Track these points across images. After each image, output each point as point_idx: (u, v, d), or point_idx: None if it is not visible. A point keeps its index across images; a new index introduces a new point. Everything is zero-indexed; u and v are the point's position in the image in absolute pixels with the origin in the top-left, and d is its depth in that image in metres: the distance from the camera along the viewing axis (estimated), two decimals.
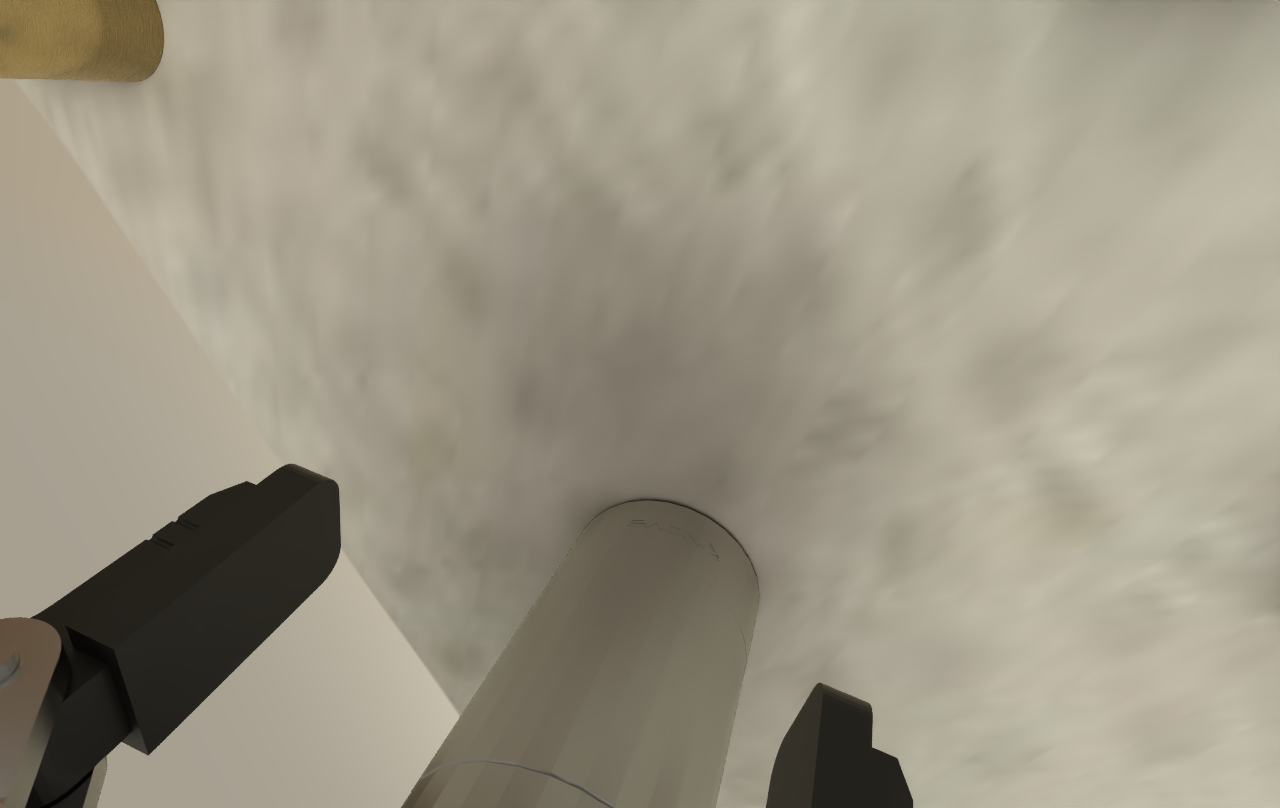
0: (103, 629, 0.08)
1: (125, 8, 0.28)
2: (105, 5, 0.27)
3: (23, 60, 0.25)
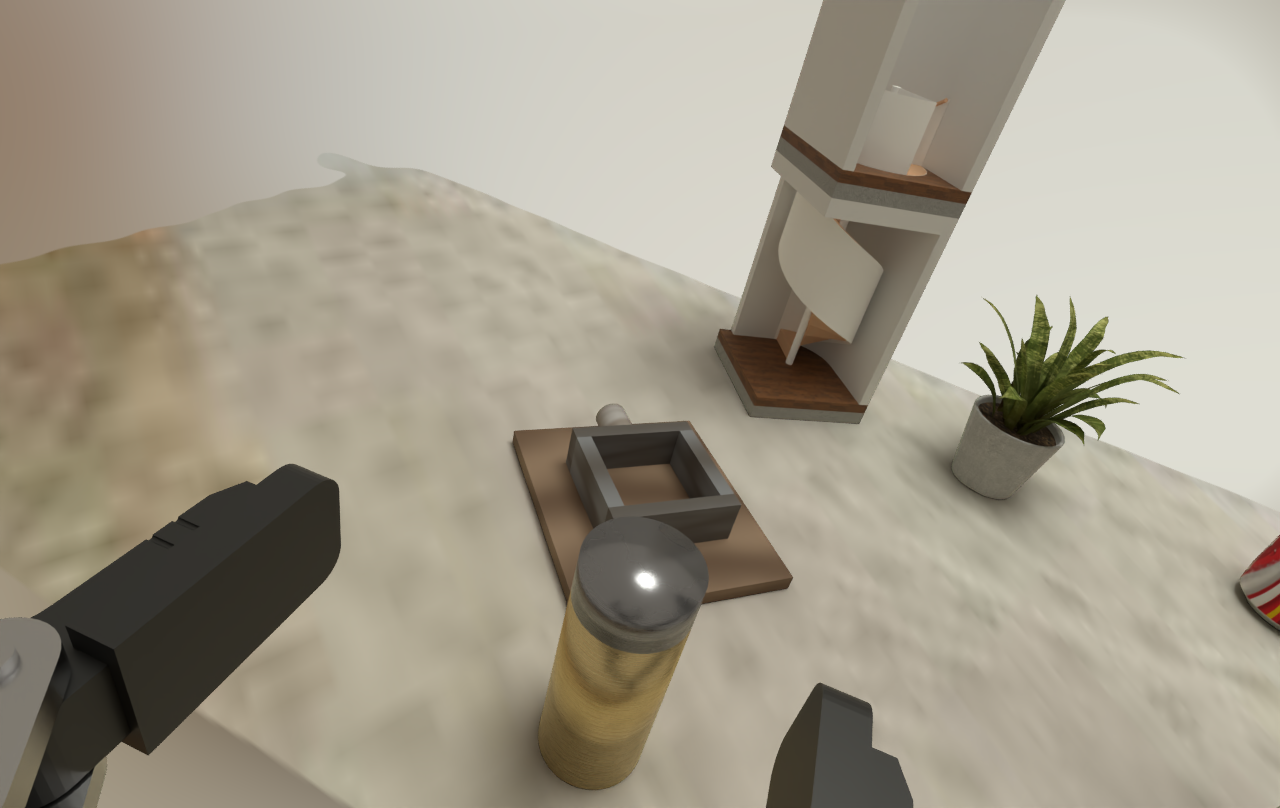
0: (103, 629, 0.08)
1: None
2: None
3: None
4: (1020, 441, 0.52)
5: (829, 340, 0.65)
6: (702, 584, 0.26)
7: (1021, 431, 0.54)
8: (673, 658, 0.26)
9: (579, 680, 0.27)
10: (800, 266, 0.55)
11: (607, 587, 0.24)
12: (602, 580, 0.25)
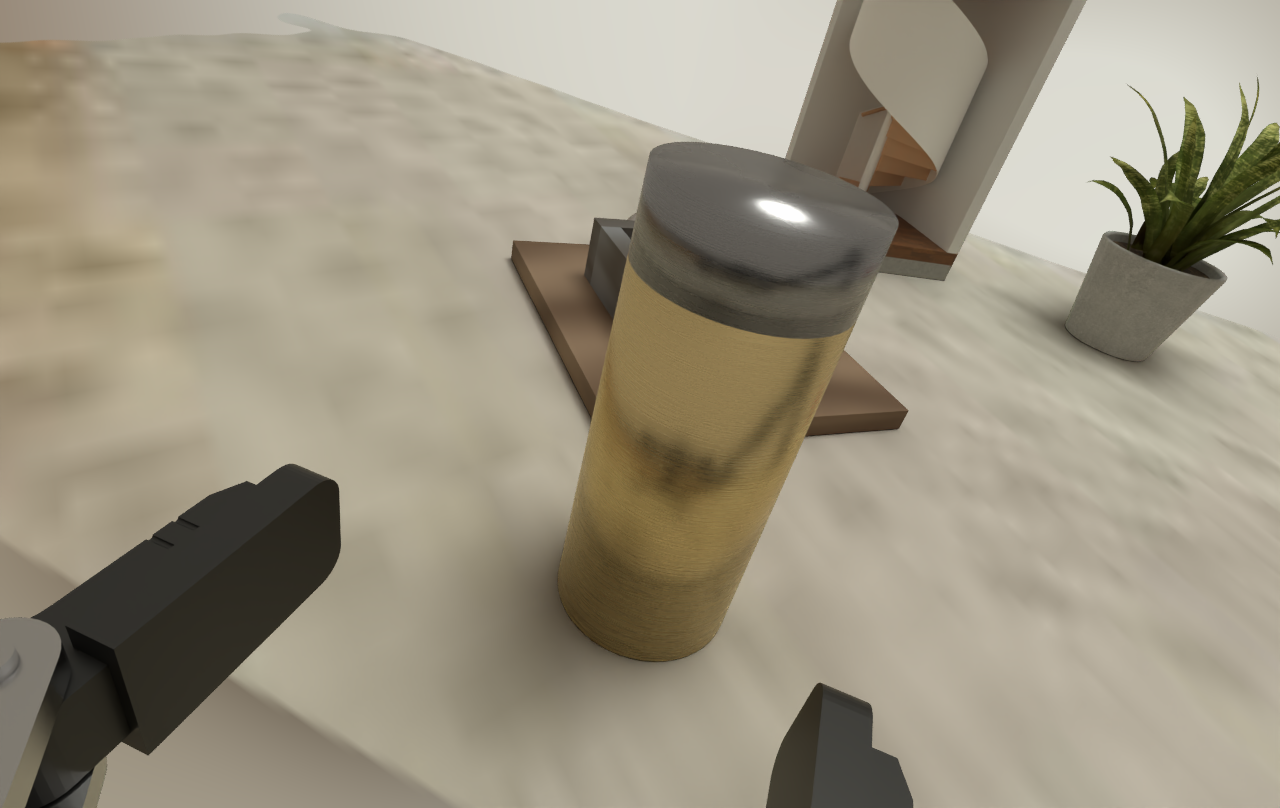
0: (102, 629, 0.08)
1: None
2: None
3: None
4: (1175, 271, 0.40)
5: (901, 186, 0.52)
6: (887, 218, 0.13)
7: (1170, 265, 0.41)
8: (823, 375, 0.14)
9: (643, 426, 0.14)
10: (883, 55, 0.42)
11: (712, 192, 0.12)
12: (700, 184, 0.12)
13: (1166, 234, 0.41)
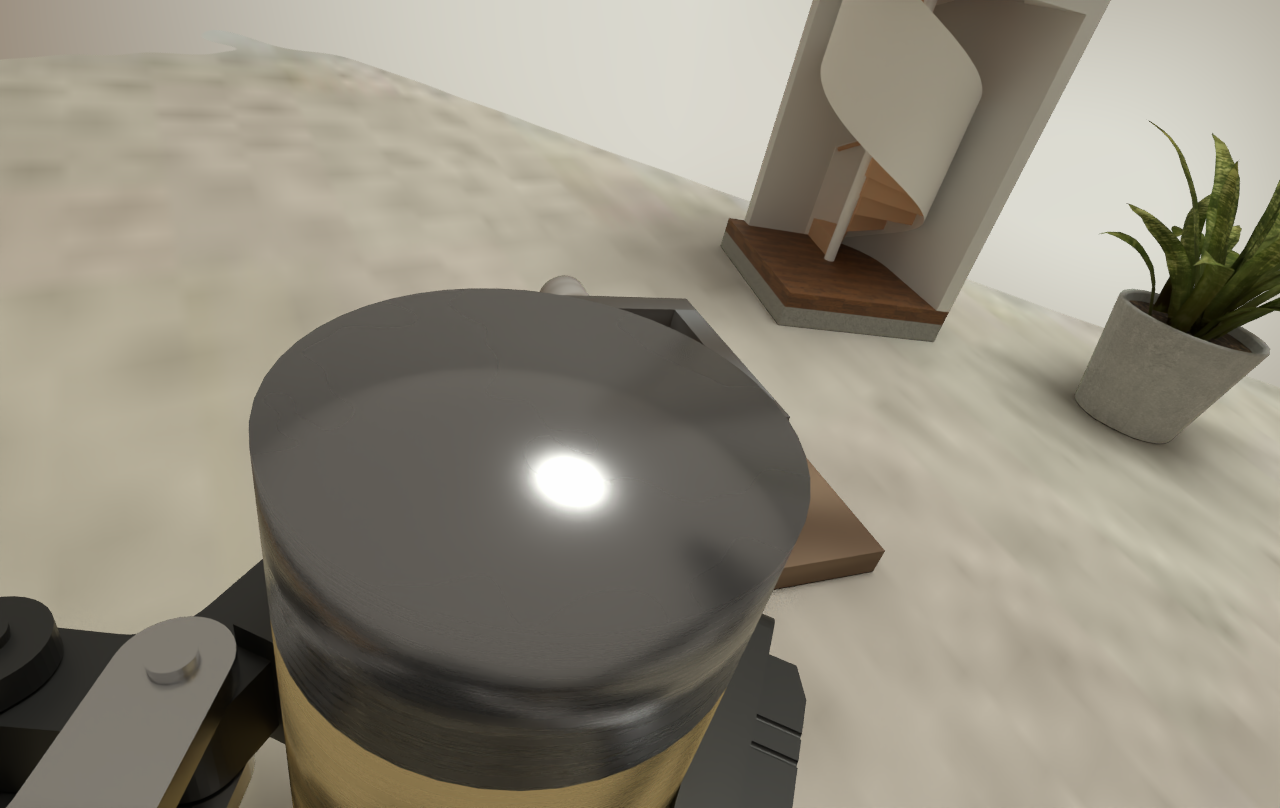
0: (267, 627, 0.08)
1: None
2: None
3: None
4: (1210, 344, 0.33)
5: (884, 230, 0.46)
6: (788, 486, 0.06)
7: (1201, 334, 0.35)
8: (669, 782, 0.07)
9: None
10: (858, 84, 0.36)
11: (353, 480, 0.05)
12: (340, 453, 0.05)
13: (1197, 298, 0.34)
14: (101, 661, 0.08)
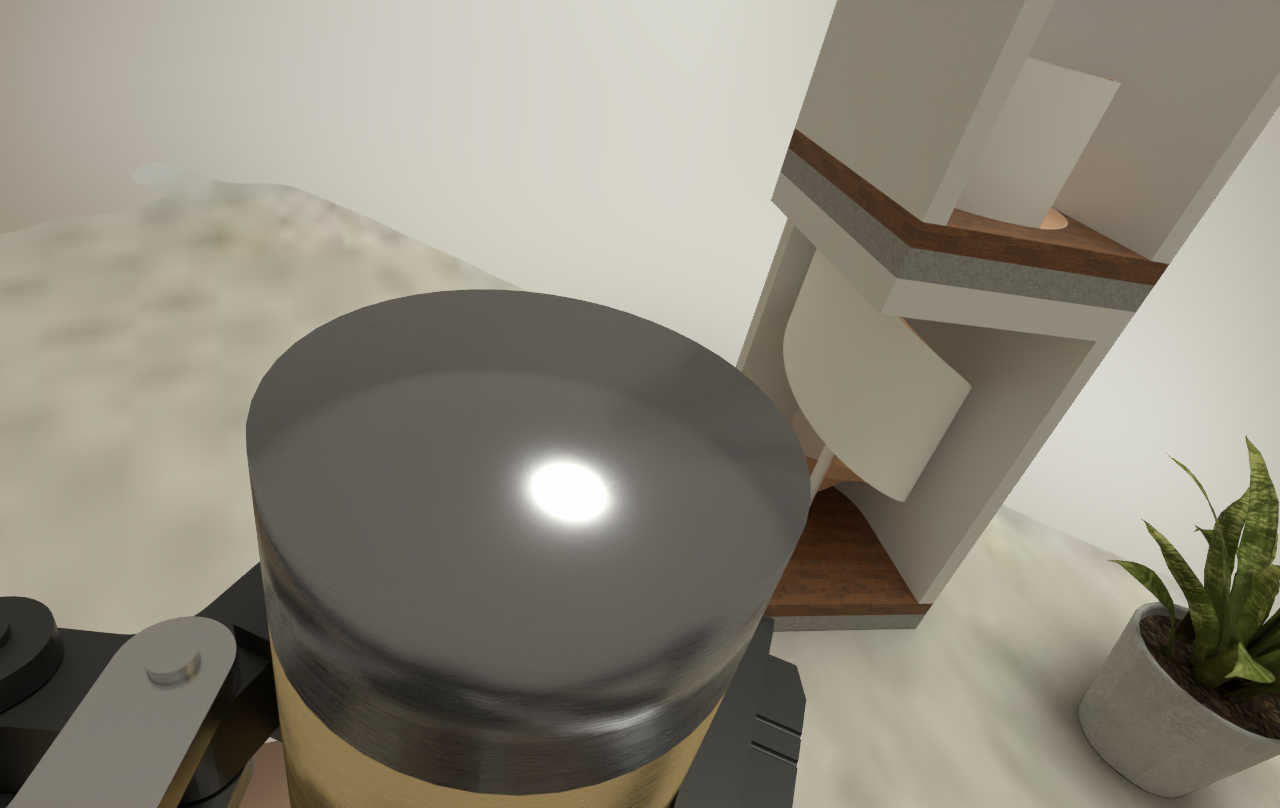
0: (267, 627, 0.08)
1: None
2: None
3: None
4: (1242, 732, 0.27)
5: None
6: (788, 489, 0.06)
7: (1230, 695, 0.29)
8: (669, 786, 0.07)
9: None
10: (824, 384, 0.30)
11: (351, 483, 0.05)
12: (338, 455, 0.05)
13: (1226, 663, 0.28)
14: (101, 661, 0.08)
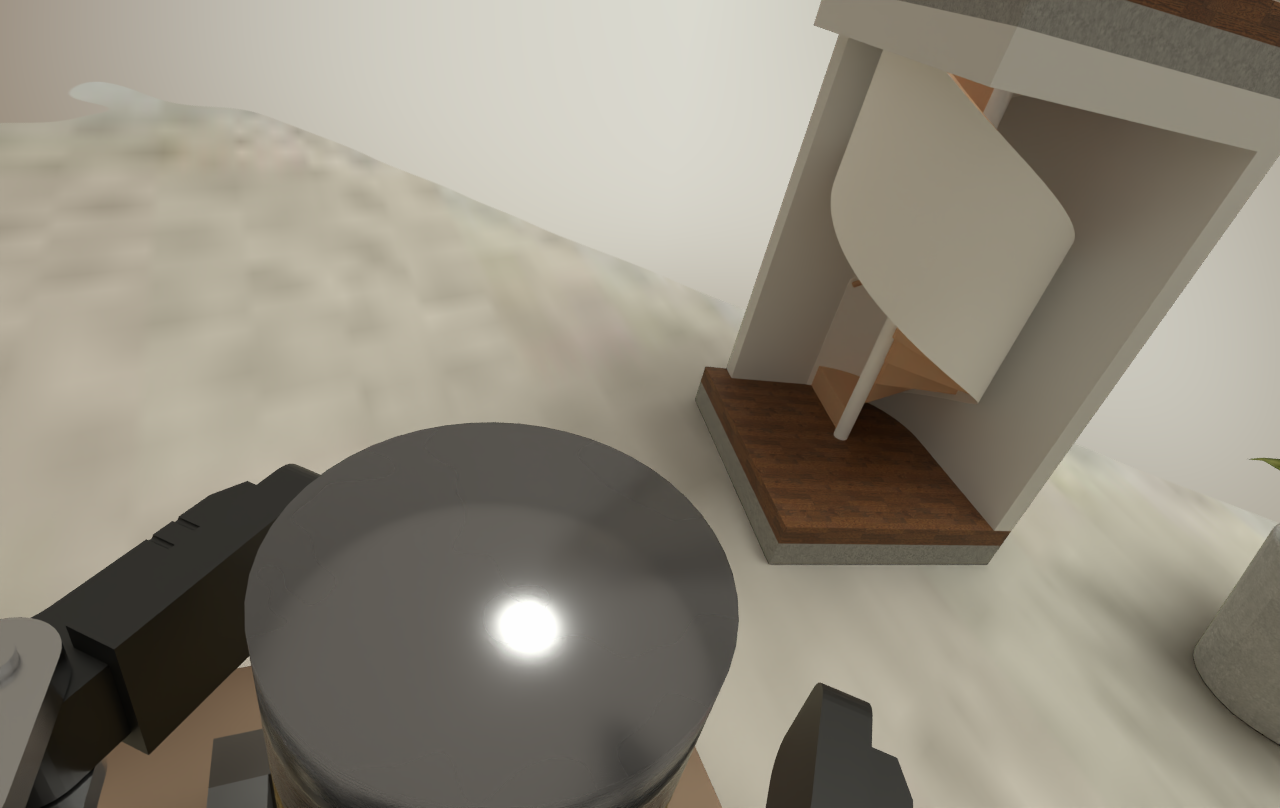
0: (103, 629, 0.08)
1: None
2: None
3: None
4: None
5: (915, 390, 0.34)
6: (717, 633, 0.07)
7: None
8: None
9: None
10: (889, 236, 0.24)
11: (333, 658, 0.06)
12: (322, 629, 0.06)
13: None
14: None
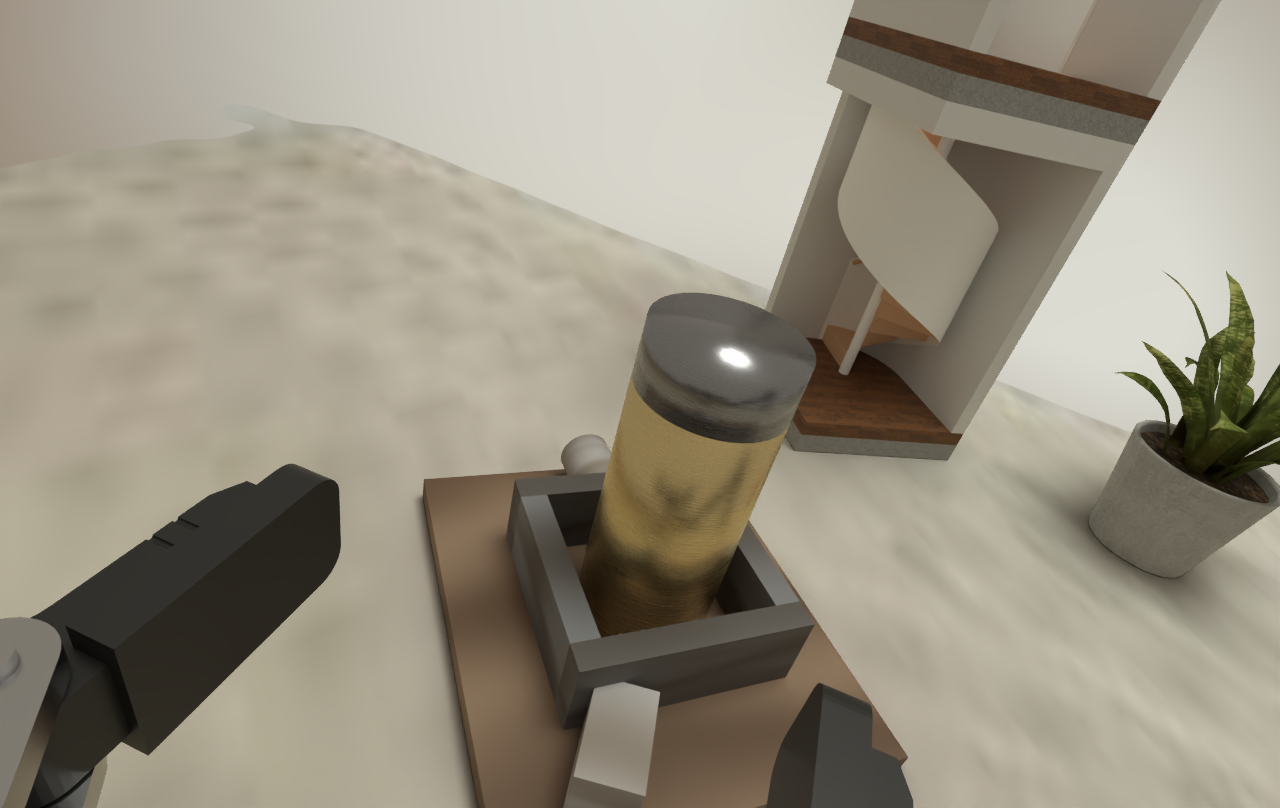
0: (103, 629, 0.08)
1: None
2: None
3: None
4: (1225, 495, 0.33)
5: (898, 341, 0.46)
6: (809, 358, 0.19)
7: (1215, 477, 0.35)
8: (767, 462, 0.20)
9: (643, 496, 0.20)
10: (876, 224, 0.36)
11: (690, 349, 0.18)
12: (682, 342, 0.18)
13: (1212, 445, 0.34)
14: None
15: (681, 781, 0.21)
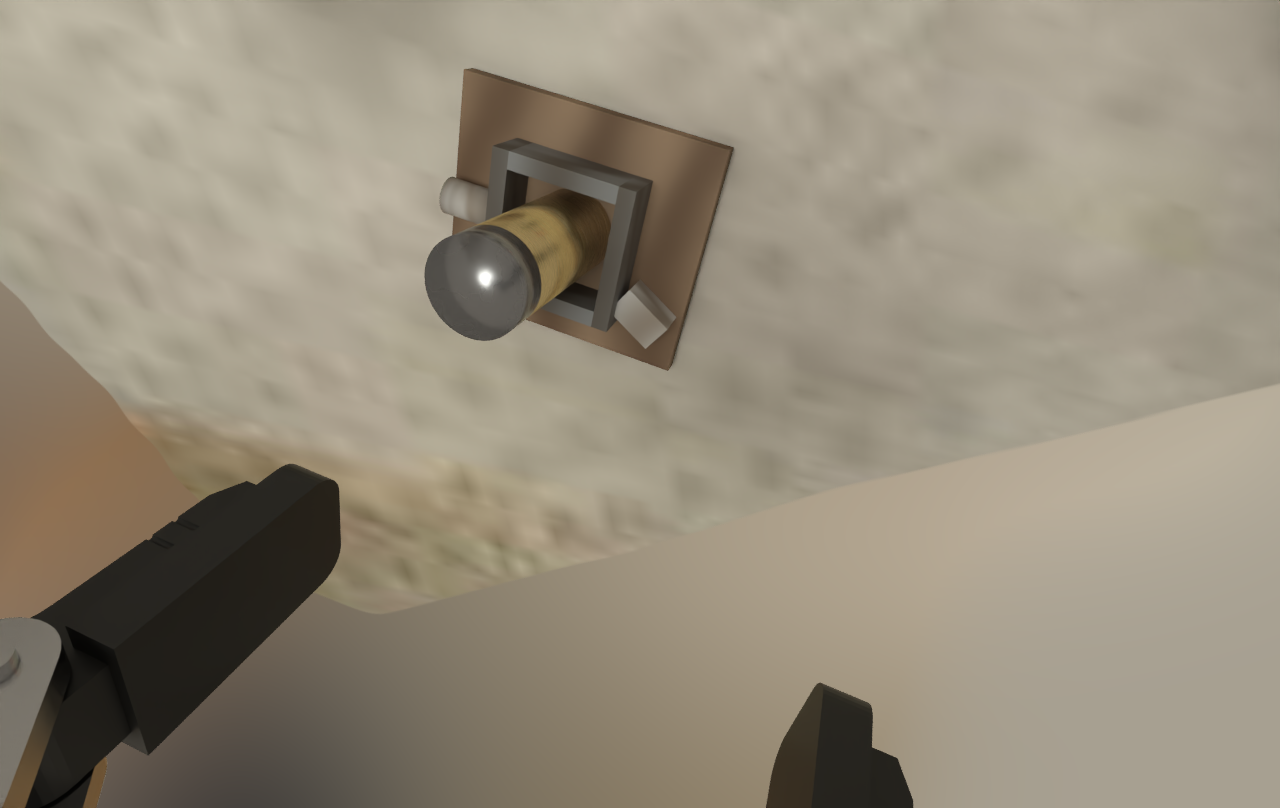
0: (103, 629, 0.08)
1: (555, 192, 0.39)
2: (549, 195, 0.38)
3: (563, 223, 0.35)
4: None
5: None
6: (501, 257, 0.30)
7: None
8: (547, 262, 0.33)
9: None
10: None
11: (486, 329, 0.32)
12: (480, 328, 0.32)
13: None
14: None
15: (670, 281, 0.41)
